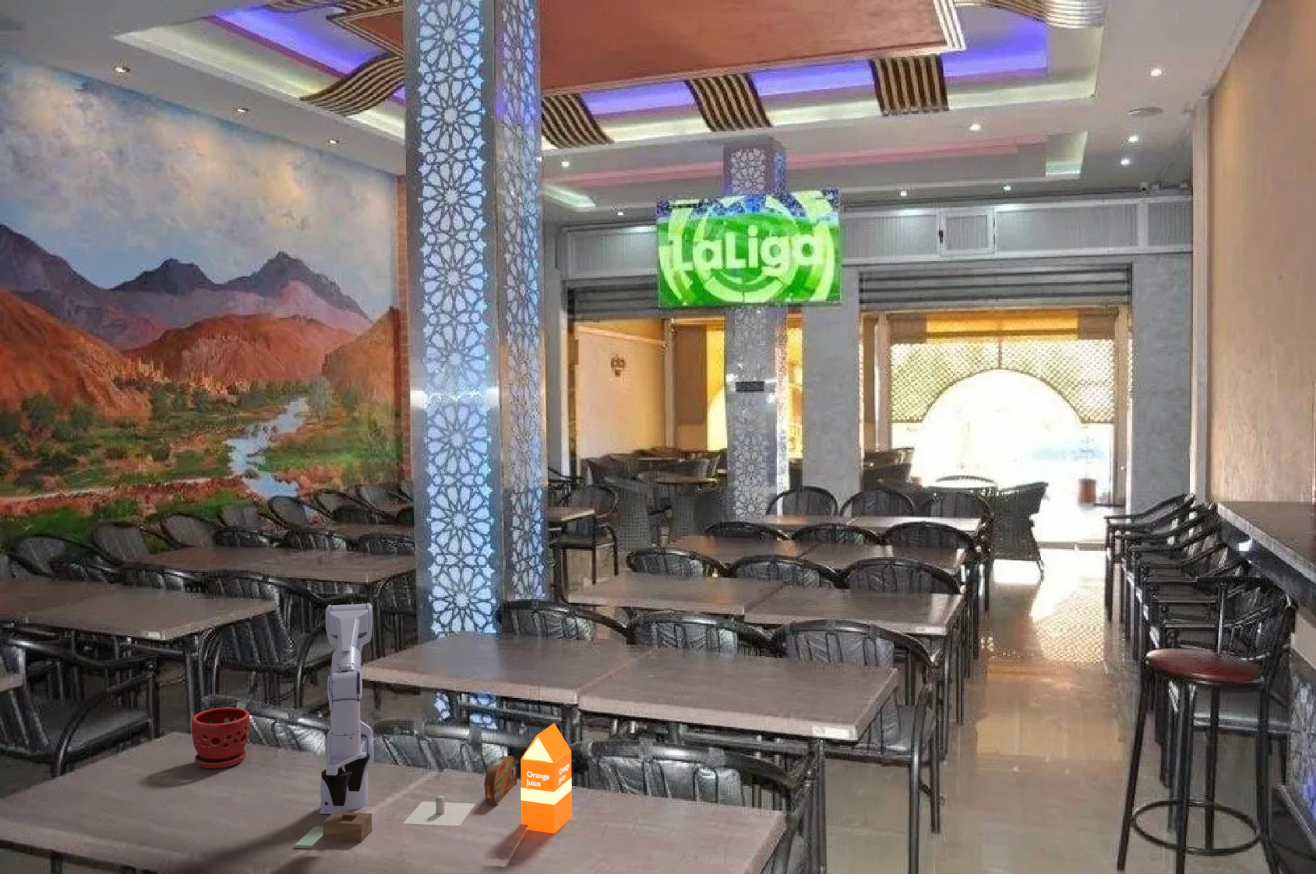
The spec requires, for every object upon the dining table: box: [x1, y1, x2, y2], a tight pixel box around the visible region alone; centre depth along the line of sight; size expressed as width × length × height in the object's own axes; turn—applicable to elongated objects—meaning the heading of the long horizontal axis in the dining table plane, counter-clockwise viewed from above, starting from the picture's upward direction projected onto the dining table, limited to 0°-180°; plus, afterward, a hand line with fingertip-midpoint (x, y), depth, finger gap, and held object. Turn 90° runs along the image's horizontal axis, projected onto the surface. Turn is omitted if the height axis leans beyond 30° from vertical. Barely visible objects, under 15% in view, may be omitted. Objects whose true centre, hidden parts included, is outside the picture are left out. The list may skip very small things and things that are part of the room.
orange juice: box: [520, 722, 573, 834], centre depth 222 cm, size 8×9×20 cm
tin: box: [483, 755, 519, 806], centre depth 236 cm, size 15×3×8 cm, turn 168°
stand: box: [402, 795, 476, 827], centre depth 225 cm, size 12×12×4 cm
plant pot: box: [191, 707, 251, 769], centre depth 259 cm, size 13×13×12 cm
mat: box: [294, 826, 323, 849], centre depth 214 cm, size 18×9×1 cm, turn 83°
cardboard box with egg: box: [322, 811, 373, 843], centre depth 214 cm, size 5×8×4 cm
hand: (346, 798), depth 214 cm, fingers open, 7 cm apart
